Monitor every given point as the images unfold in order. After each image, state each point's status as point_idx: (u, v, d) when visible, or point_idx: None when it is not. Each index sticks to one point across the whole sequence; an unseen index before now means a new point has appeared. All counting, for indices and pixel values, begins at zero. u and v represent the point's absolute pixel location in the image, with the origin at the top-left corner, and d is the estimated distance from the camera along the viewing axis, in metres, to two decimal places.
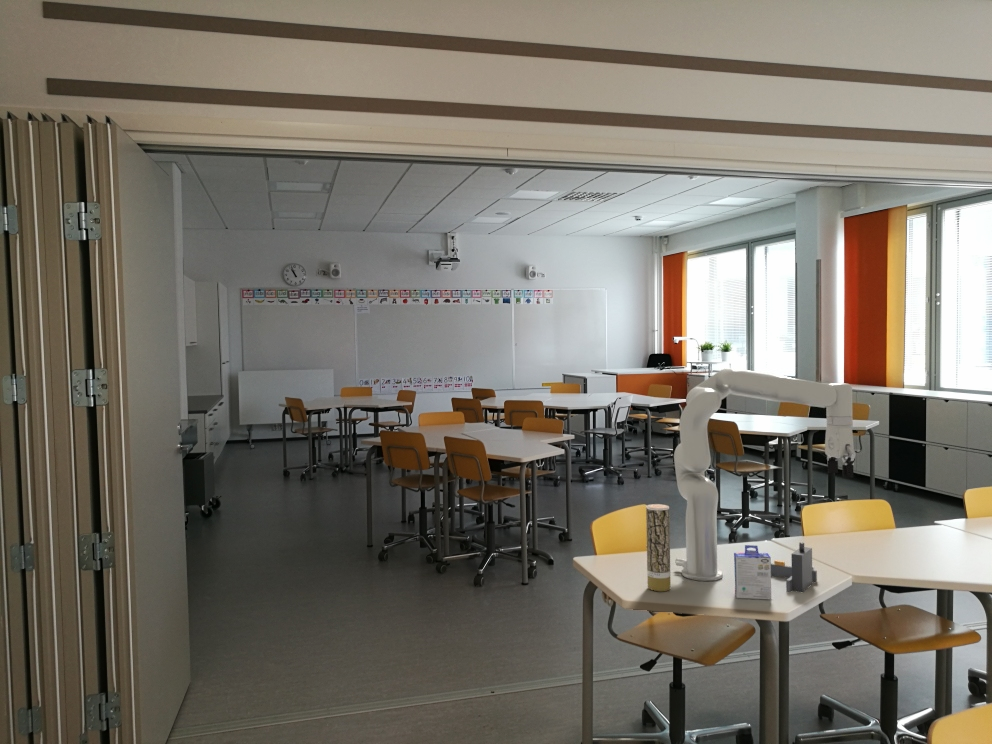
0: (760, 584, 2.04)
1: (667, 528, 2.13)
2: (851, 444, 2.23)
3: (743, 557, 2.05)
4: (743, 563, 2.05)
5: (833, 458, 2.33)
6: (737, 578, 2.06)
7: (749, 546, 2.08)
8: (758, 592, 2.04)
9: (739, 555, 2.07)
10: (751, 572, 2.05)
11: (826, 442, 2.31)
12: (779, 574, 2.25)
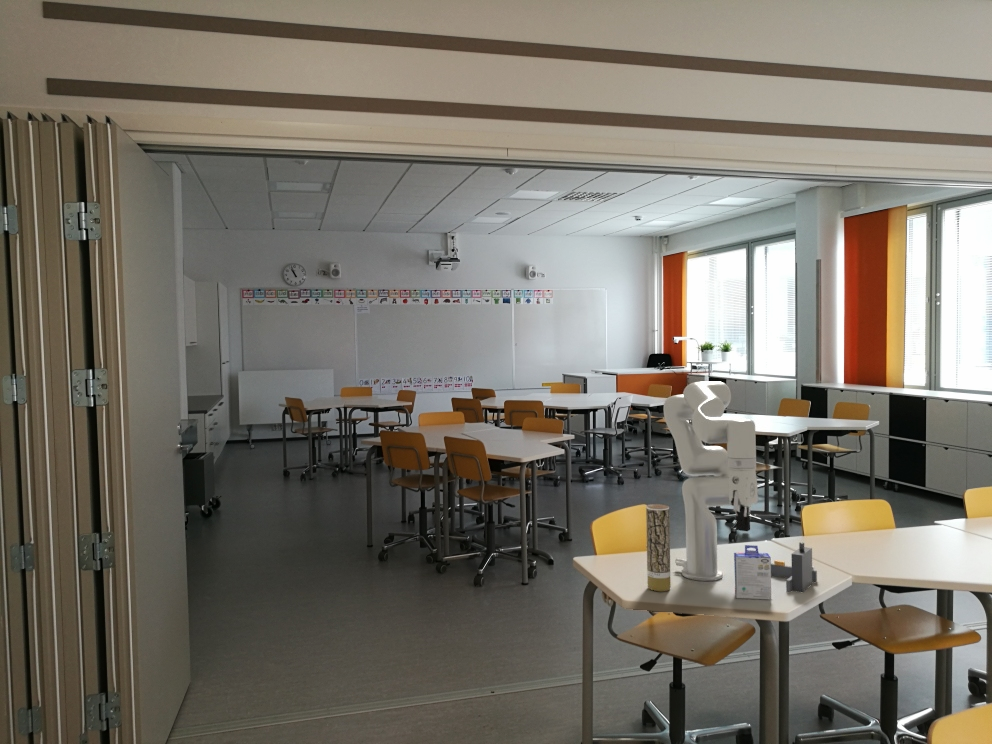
0: (760, 584, 2.04)
1: (667, 528, 2.13)
2: None
3: (743, 557, 2.05)
4: (743, 563, 2.05)
5: None
6: (737, 578, 2.06)
7: (749, 546, 2.08)
8: (758, 592, 2.04)
9: (739, 555, 2.07)
10: (751, 572, 2.05)
11: (747, 490, 1.93)
12: (779, 574, 2.25)
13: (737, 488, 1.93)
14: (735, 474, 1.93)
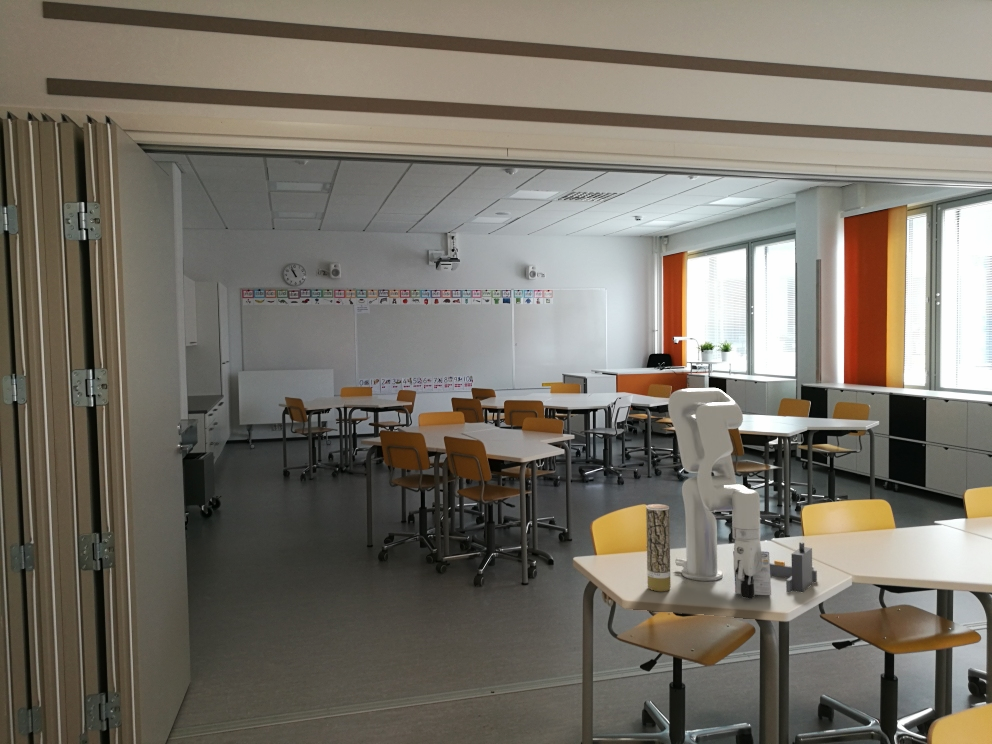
0: (760, 579, 2.05)
1: (667, 528, 2.13)
2: None
3: None
4: None
5: None
6: None
7: None
8: (758, 588, 2.05)
9: None
10: None
11: (751, 561, 1.99)
12: (779, 574, 2.25)
13: (741, 558, 1.99)
14: (740, 544, 2.00)
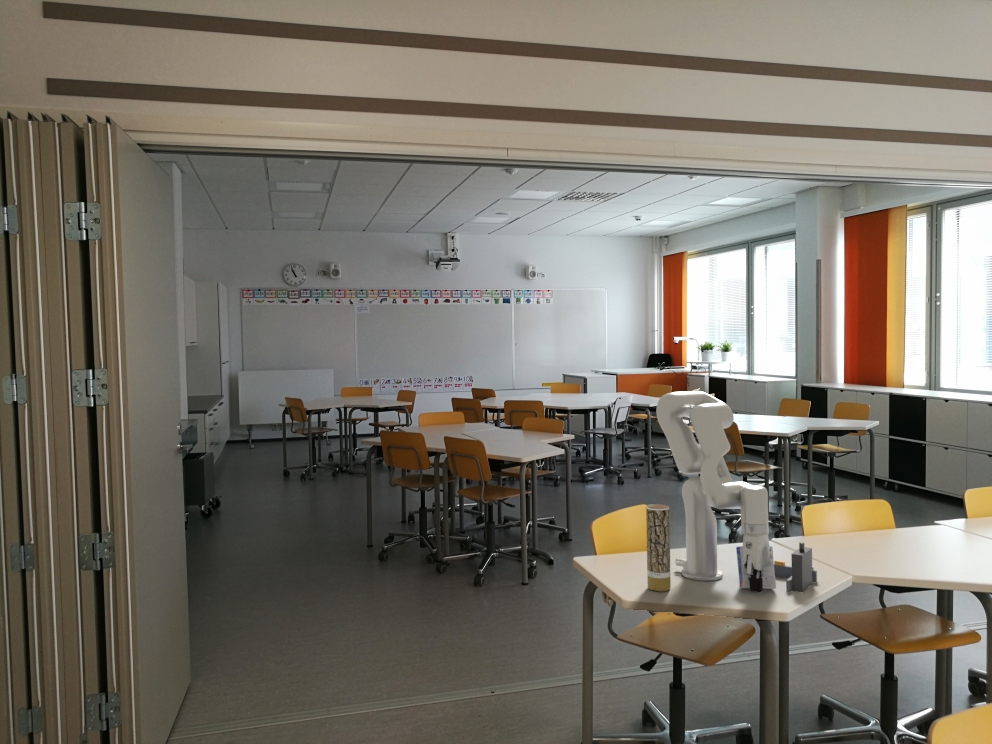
0: (764, 573, 2.11)
1: (667, 528, 2.13)
2: None
3: None
4: None
5: None
6: (742, 568, 2.12)
7: None
8: (763, 582, 2.10)
9: (742, 546, 2.14)
10: None
11: (760, 555, 2.04)
12: (779, 574, 2.25)
13: (750, 553, 2.04)
14: (748, 539, 2.05)
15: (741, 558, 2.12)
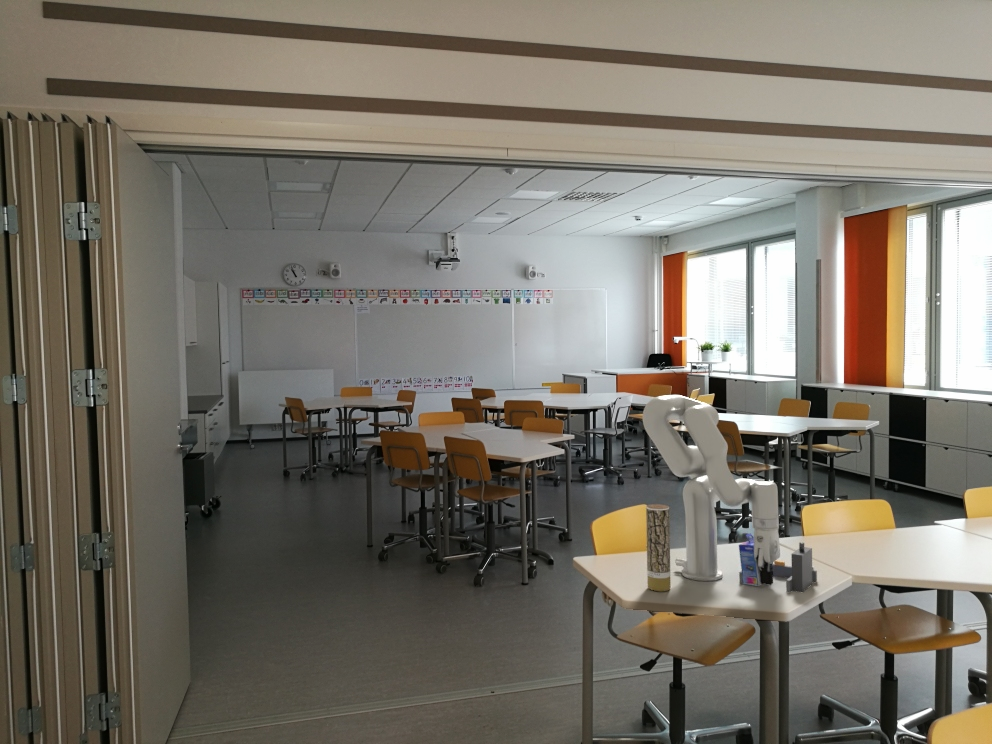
0: None
1: (667, 528, 2.13)
2: None
3: None
4: None
5: None
6: (756, 566, 2.15)
7: (748, 535, 2.21)
8: None
9: (752, 544, 2.17)
10: None
11: (771, 549, 2.11)
12: (779, 574, 2.25)
13: (761, 546, 2.11)
14: (759, 533, 2.11)
15: None
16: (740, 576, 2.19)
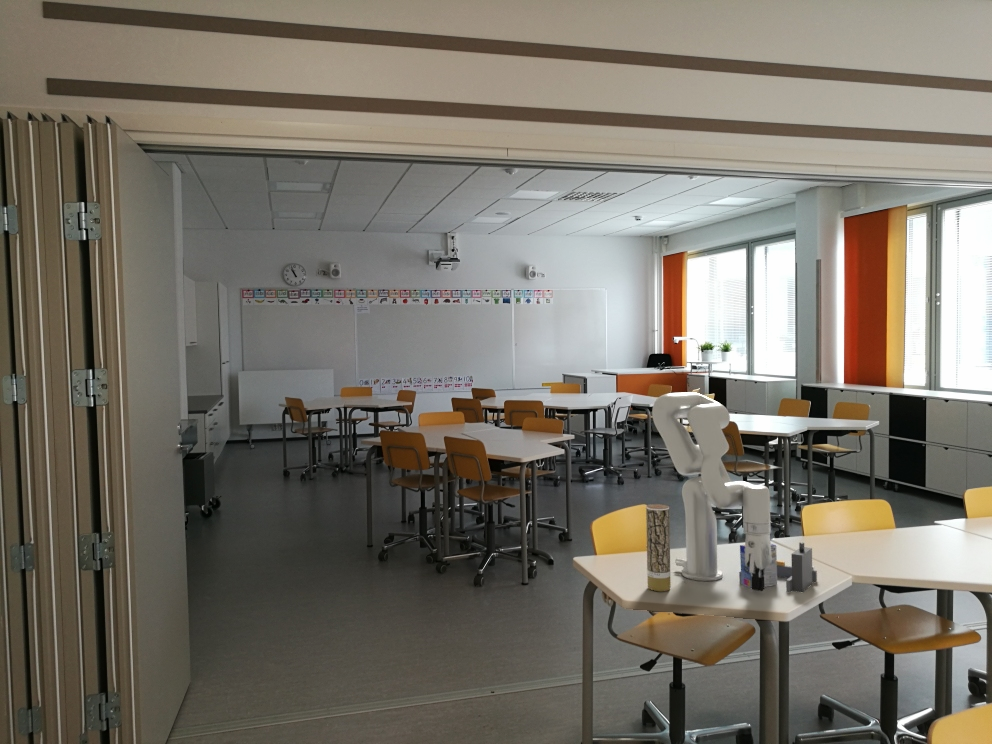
0: (769, 572, 2.16)
1: (667, 528, 2.13)
2: None
3: None
4: None
5: None
6: None
7: None
8: (767, 580, 2.15)
9: None
10: None
11: (762, 554, 2.06)
12: (779, 574, 2.25)
13: (753, 552, 2.06)
14: (751, 538, 2.06)
15: None
16: (740, 576, 2.19)
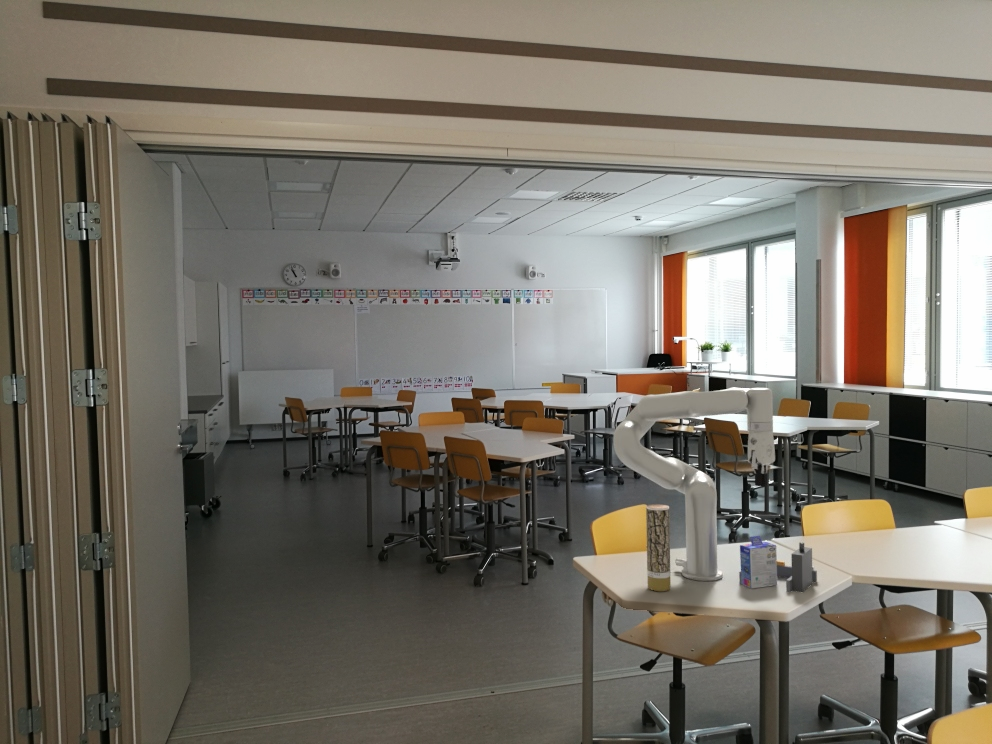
0: (769, 572, 2.16)
1: (667, 528, 2.13)
2: None
3: (755, 548, 2.14)
4: (756, 554, 2.14)
5: None
6: (751, 569, 2.14)
7: (753, 537, 2.18)
8: (767, 580, 2.15)
9: (750, 547, 2.15)
10: (762, 561, 2.15)
11: (764, 450, 2.19)
12: (779, 574, 2.25)
13: (755, 448, 2.19)
14: (753, 436, 2.20)
15: (751, 560, 2.14)
16: (740, 576, 2.19)
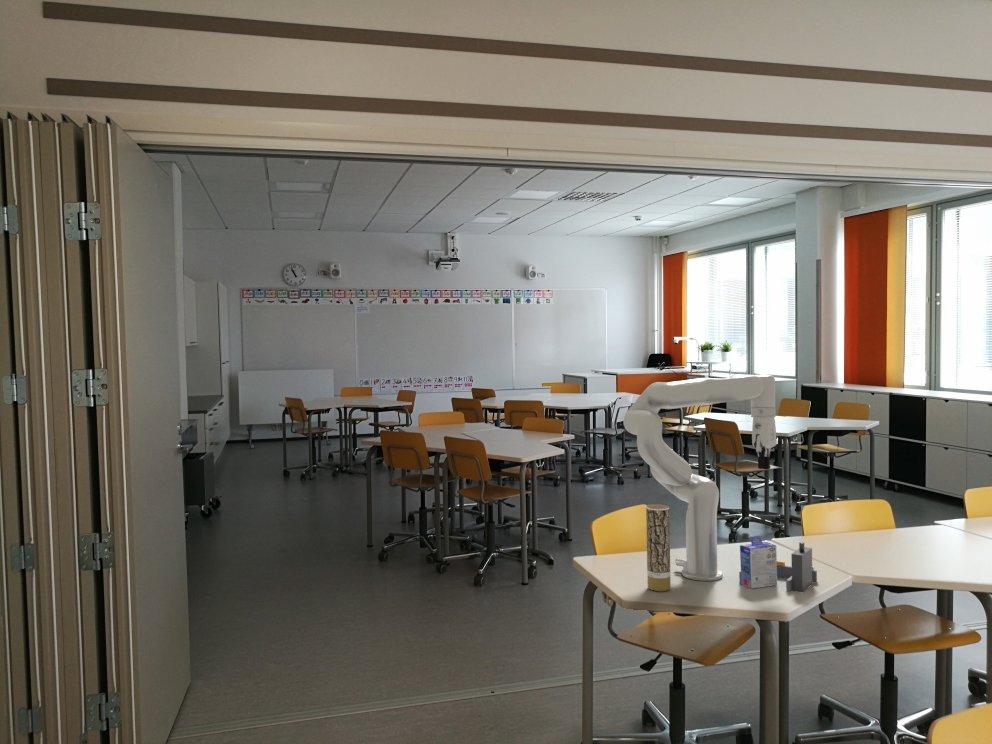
0: (769, 572, 2.16)
1: (667, 528, 2.13)
2: None
3: (755, 548, 2.14)
4: (756, 554, 2.14)
5: None
6: (751, 569, 2.14)
7: (753, 537, 2.18)
8: (767, 580, 2.15)
9: (750, 547, 2.15)
10: (762, 561, 2.15)
11: (768, 434, 2.28)
12: (779, 574, 2.25)
13: (759, 432, 2.28)
14: (758, 421, 2.29)
15: (751, 560, 2.14)
16: (740, 576, 2.19)
